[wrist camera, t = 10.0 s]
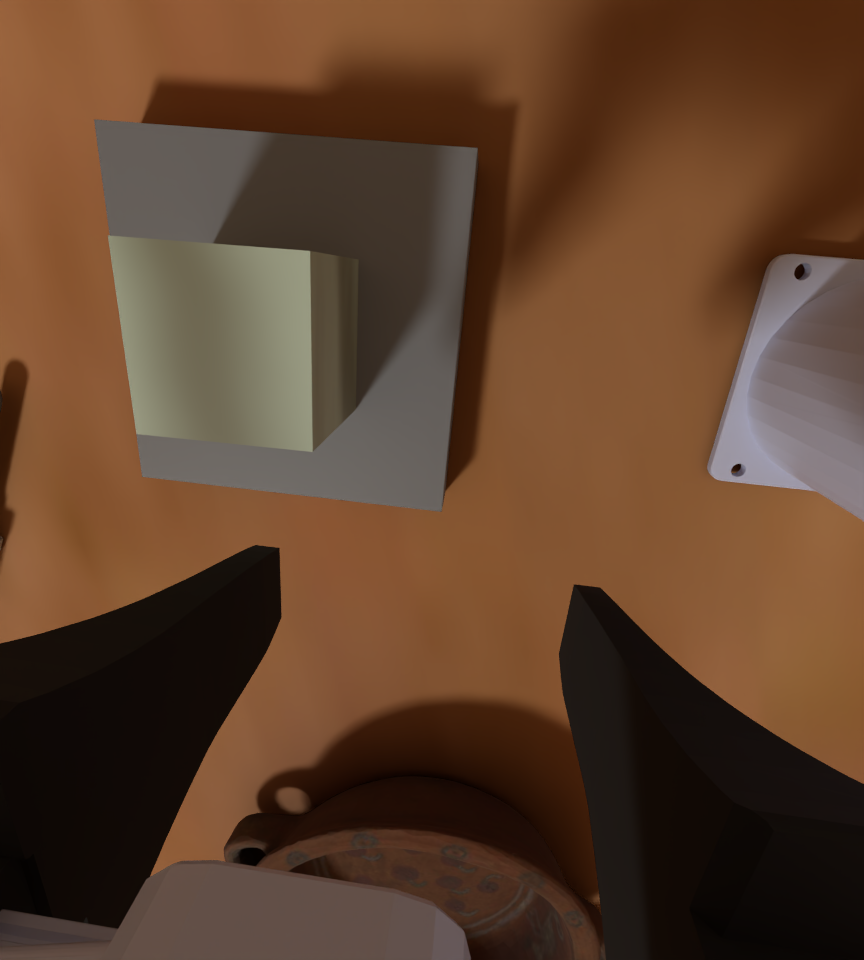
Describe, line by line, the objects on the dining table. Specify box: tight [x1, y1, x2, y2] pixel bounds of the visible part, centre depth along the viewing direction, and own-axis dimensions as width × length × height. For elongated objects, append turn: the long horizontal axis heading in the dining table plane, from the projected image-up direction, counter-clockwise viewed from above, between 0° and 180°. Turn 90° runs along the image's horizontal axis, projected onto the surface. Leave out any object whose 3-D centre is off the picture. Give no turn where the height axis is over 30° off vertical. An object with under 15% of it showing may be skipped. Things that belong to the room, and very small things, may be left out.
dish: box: [224, 776, 606, 960], centre depth 28 cm, size 18×22×5 cm
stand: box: [94, 120, 478, 512], centre depth 19 cm, size 12×12×2 cm
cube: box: [108, 236, 359, 452], centre depth 15 cm, size 5×5×5 cm
